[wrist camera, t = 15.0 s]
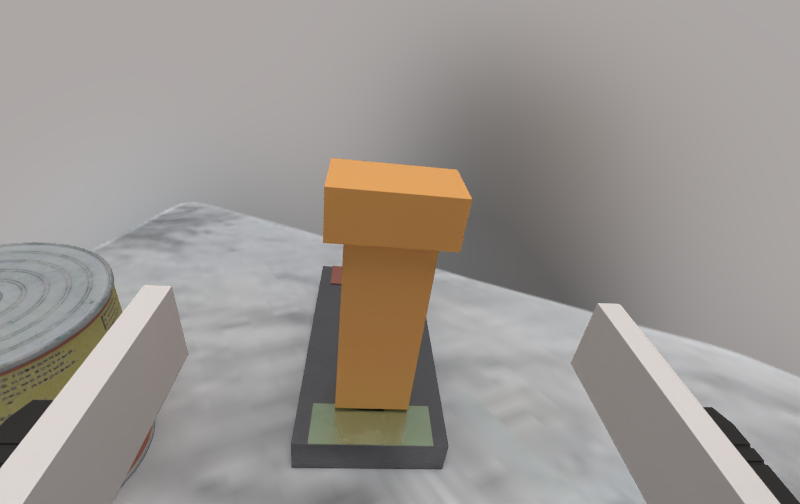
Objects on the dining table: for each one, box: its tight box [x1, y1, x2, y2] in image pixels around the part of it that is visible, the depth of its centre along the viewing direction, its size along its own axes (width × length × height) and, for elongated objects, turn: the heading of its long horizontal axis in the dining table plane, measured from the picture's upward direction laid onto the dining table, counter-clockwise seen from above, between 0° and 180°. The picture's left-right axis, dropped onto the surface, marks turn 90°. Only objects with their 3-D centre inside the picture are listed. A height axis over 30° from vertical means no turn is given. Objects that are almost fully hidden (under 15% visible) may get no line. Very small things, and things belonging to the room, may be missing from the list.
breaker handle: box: [323, 158, 472, 410], centre depth 25 cm, size 4×7×16 cm, turn 93°
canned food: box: [0, 243, 155, 486], centre depth 23 cm, size 11×11×12 cm
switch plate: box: [291, 266, 448, 469], centre depth 35 cm, size 20×10×3 cm, turn 3°
